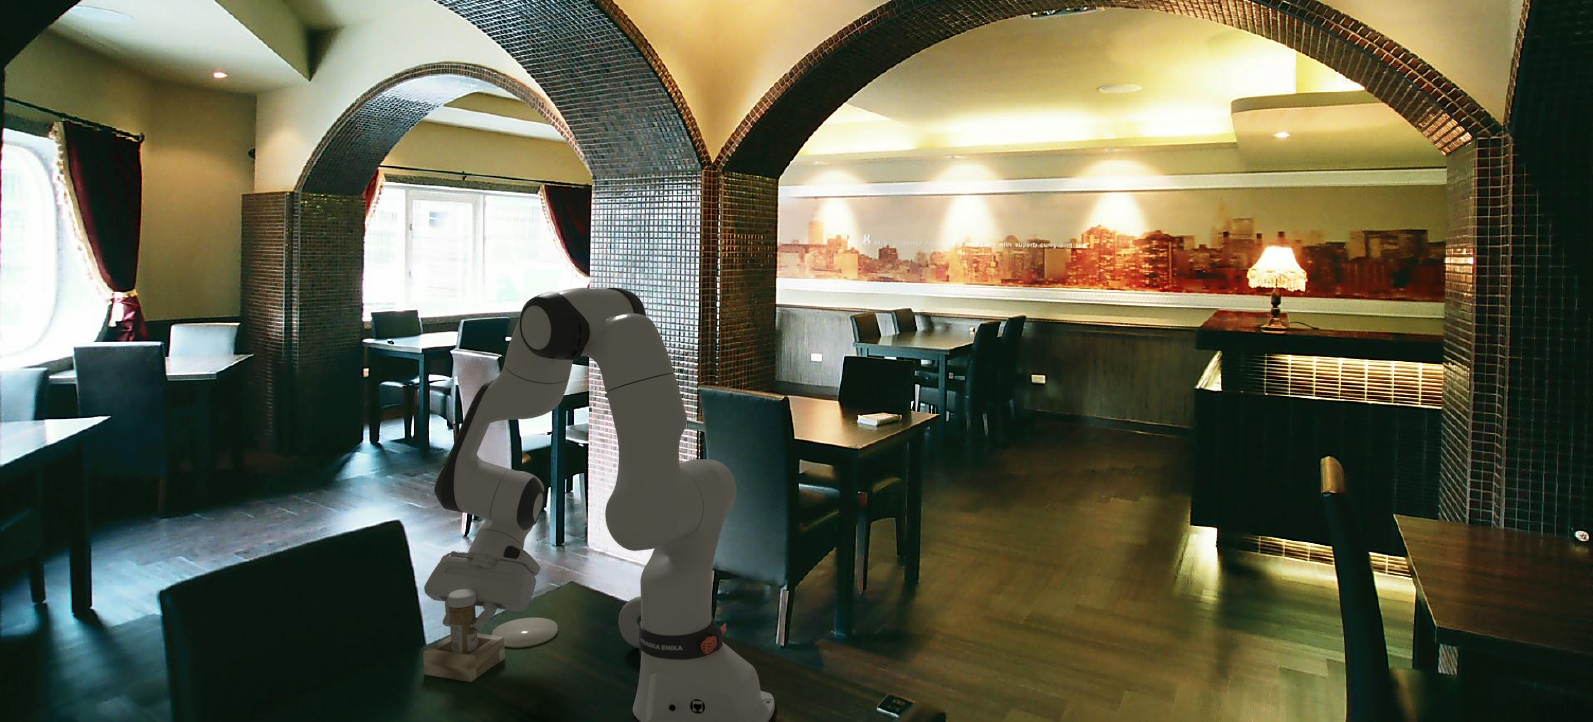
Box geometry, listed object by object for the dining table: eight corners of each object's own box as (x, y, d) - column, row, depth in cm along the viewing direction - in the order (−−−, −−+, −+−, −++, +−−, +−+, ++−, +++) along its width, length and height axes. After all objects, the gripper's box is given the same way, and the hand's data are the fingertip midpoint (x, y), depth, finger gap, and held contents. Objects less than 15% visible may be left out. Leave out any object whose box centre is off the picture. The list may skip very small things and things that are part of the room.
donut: (616, 651, 166) (614, 598, 165) (622, 643, 170) (621, 591, 168) (669, 654, 165) (668, 601, 164) (674, 646, 168) (673, 594, 167)
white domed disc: (569, 625, 178) (569, 621, 178) (534, 651, 166) (534, 646, 166) (516, 618, 181) (516, 614, 181) (478, 642, 170) (478, 638, 170)
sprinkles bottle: (482, 667, 160) (478, 594, 158) (455, 674, 157) (451, 599, 156) (475, 658, 163) (472, 586, 162) (448, 664, 161) (445, 591, 159)
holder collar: (504, 658, 163) (503, 637, 163) (470, 682, 154) (469, 659, 154) (460, 651, 166) (459, 630, 166) (424, 674, 157) (423, 652, 157)
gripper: (437, 542, 168) (402, 613, 160) (533, 552, 162) (502, 627, 153) (454, 558, 173) (421, 627, 164) (548, 568, 166) (518, 641, 158)
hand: (461, 627), depth 159 cm, fingers closed on sprinkles bottle, 4 cm apart
